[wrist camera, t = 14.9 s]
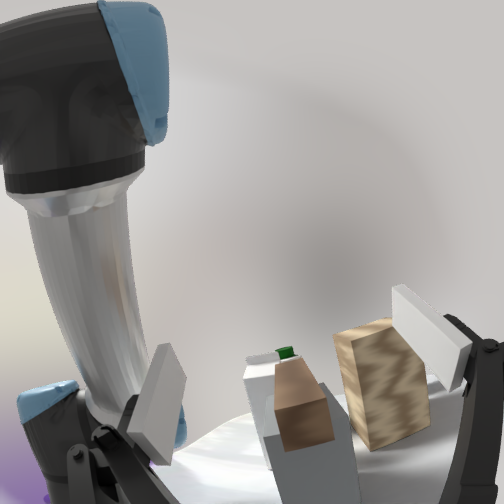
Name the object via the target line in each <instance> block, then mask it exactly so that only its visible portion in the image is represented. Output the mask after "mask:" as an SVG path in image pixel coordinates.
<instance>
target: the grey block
mask: <svg viewBox="0 0 504 504" xmlns="http://www.w3.org/2000/svg"><path fill="white" fill-rule="evenodd" d="M319 386H320V388H321V389H322V391H323V393H324V394H325V396H326V398H327V402H328V407H329V412H330V417H331V422H332V427H333V432H334V437H335V440H333V441H330V442H326V443H323V444H319V445H315V446H311V447H307V448H303V449H299V450H294V451H290V452H285V451H284V447H283V443H282V440H281V436H280V432H279V428H278V424H277V420H276V416H275V413H274V395H271V396H267V400H266V411H265V421H264V431H263V439H264V443H265V446H266V450H267V453H268V457H269V460H270V464H271V467H272V471H273V474H274V477H275V481H276V484H277V487H278V490H279V494H280V497H281V500H282V503H283V504H361V496H360V488H359V480H358V473H357V466H356V459H355V453H354V447H353V441H352V435H351V429H350V423H349V418H348V415H347V413H346V412H345V411H344V409H343V408H342V407H341V405H340V404H339V403H338V401H337V400H336V399H335V397H334V396H333V395H332V393H331V392H330V391H329V390H328V388H327V387H326V386H325V384H324V383H320V384H319Z"/></svg>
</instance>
